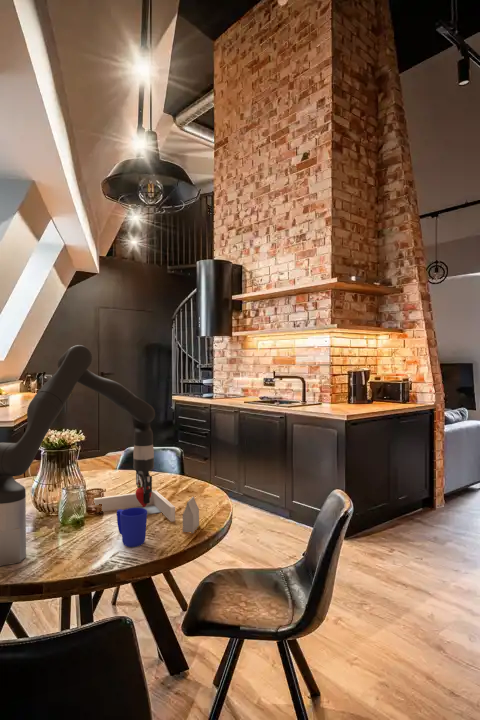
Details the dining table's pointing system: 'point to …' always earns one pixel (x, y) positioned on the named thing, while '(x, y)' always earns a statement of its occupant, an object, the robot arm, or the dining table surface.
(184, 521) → the grey house-shaped block
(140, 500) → the strawberry
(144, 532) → the mug
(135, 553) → the dining table surface
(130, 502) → the corner arena
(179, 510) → the dining table surface
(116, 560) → the dining table surface
